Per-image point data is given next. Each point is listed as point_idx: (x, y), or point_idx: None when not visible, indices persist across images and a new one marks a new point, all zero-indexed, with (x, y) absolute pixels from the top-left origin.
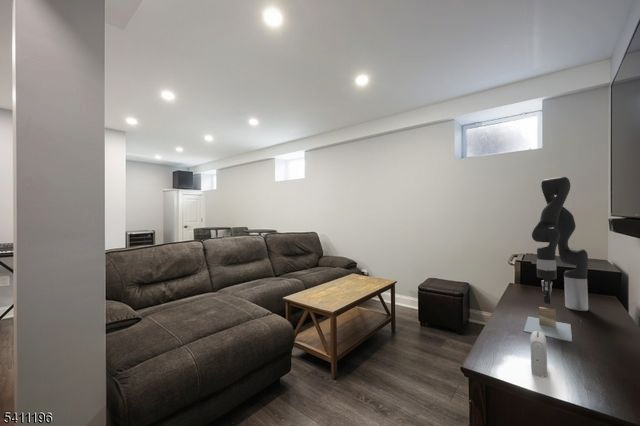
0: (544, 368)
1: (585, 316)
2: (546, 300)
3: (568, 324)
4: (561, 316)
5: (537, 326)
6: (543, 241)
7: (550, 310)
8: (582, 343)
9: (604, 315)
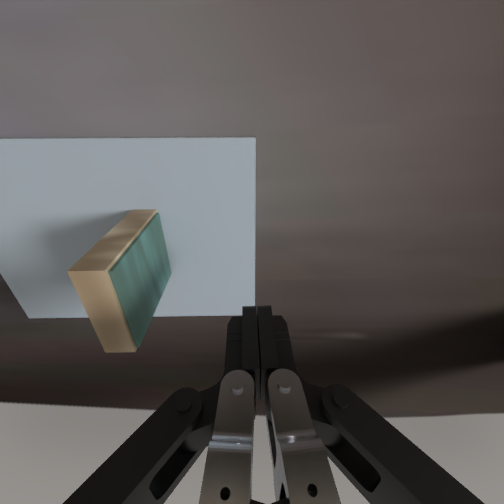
0: None
1: (422, 347)
2: (232, 340)
3: None
4: (378, 284)
5: (85, 203)
6: None
7: (97, 327)
8: (57, 336)
9: (461, 384)
